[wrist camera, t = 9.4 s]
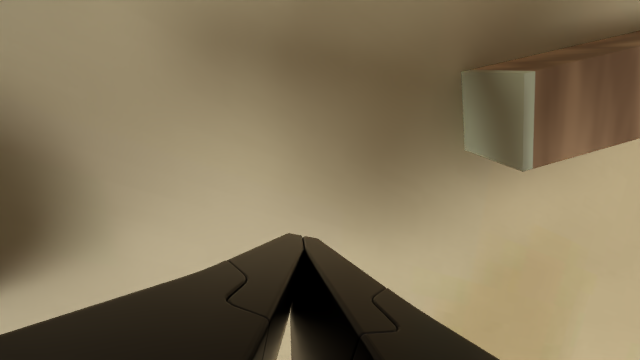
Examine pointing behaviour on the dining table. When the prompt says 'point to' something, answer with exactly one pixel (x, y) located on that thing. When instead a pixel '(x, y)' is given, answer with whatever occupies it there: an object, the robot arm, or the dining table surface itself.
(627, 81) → the walnut block
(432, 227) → the dining table surface
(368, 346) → the robot arm
